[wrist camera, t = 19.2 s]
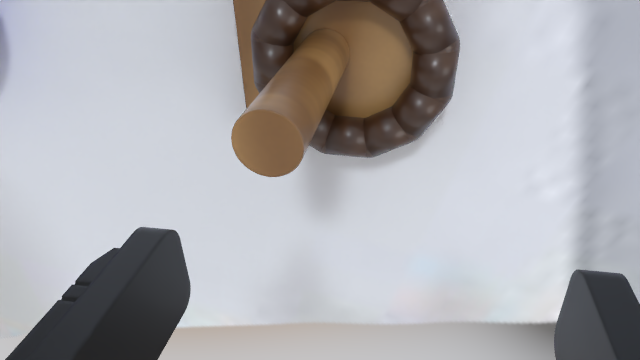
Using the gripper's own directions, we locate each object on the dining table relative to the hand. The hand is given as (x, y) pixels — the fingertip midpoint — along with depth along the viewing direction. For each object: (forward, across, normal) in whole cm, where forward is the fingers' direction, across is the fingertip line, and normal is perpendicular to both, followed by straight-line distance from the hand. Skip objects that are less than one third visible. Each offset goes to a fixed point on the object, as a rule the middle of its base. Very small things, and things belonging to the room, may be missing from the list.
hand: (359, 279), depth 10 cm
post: (+17, +4, 0) cm, 17 cm away
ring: (+15, +2, 0) cm, 15 cm away
